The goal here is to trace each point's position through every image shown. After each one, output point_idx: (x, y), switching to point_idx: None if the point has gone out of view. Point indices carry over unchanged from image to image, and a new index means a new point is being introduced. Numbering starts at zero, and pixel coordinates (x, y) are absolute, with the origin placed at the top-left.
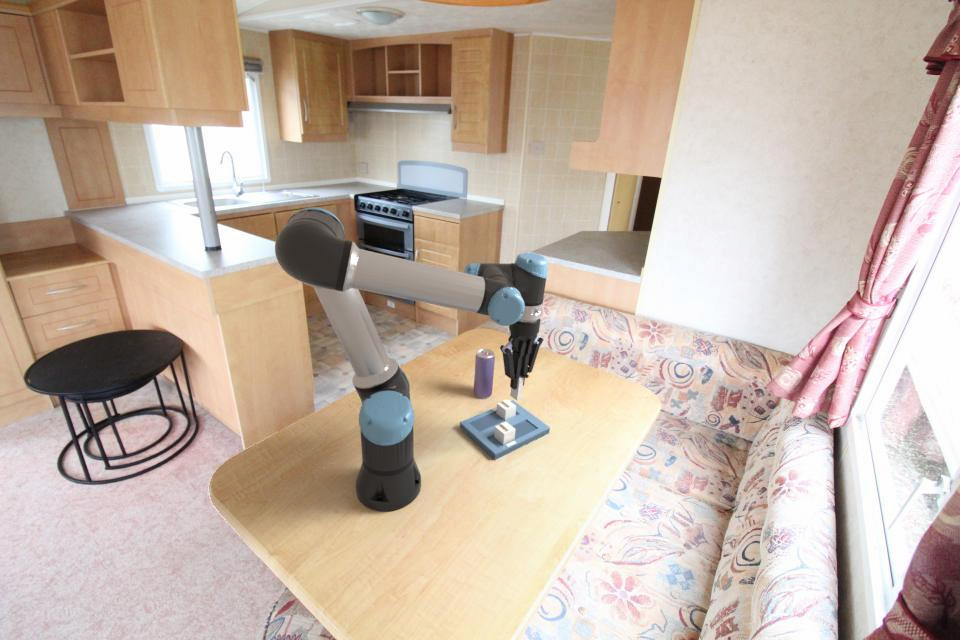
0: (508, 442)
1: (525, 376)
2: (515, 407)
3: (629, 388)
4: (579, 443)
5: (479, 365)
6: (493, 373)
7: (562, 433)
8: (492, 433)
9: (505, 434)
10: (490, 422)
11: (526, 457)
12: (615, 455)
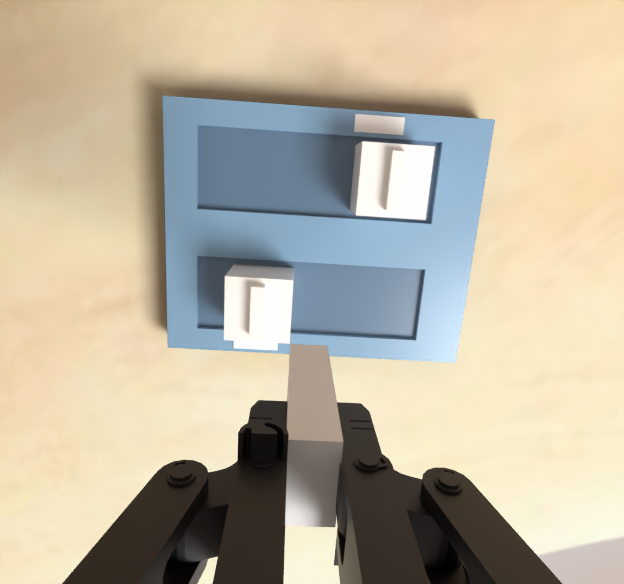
0: None
1: (337, 562)
2: (418, 218)
3: None
4: (481, 446)
5: None
6: None
7: (483, 380)
8: (236, 251)
9: (231, 338)
10: (285, 182)
11: (277, 389)
12: None
